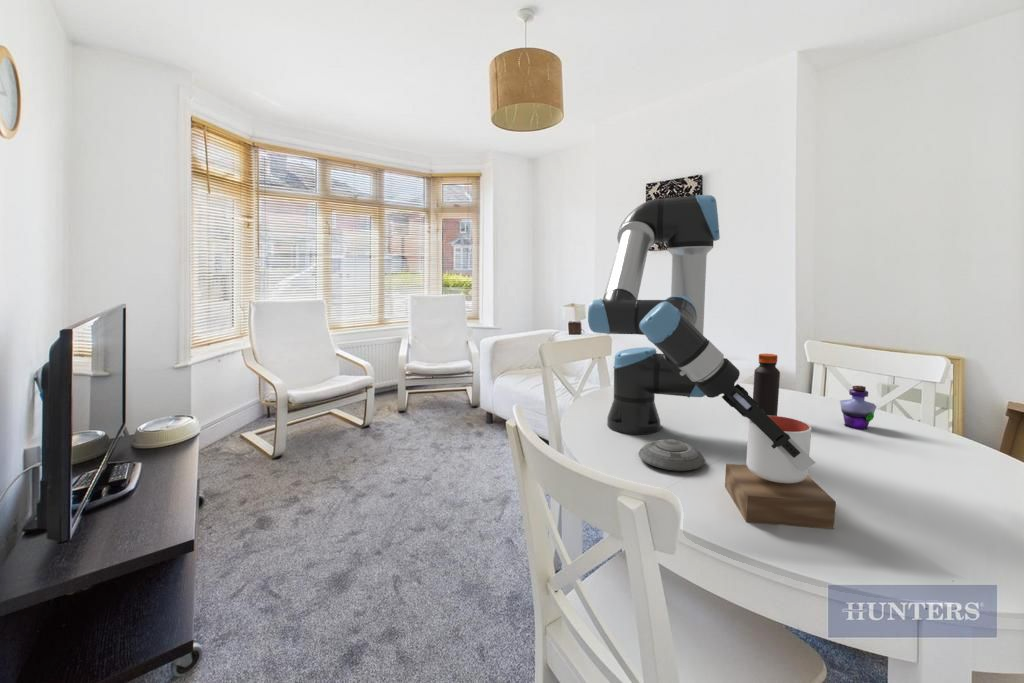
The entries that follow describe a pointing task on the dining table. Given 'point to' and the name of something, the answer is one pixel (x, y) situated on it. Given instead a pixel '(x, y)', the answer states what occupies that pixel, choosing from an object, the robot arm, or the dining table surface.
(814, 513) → the walnut block
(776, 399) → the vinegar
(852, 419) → the potion bottle
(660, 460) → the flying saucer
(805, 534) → the dining table surface
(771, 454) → the cup
